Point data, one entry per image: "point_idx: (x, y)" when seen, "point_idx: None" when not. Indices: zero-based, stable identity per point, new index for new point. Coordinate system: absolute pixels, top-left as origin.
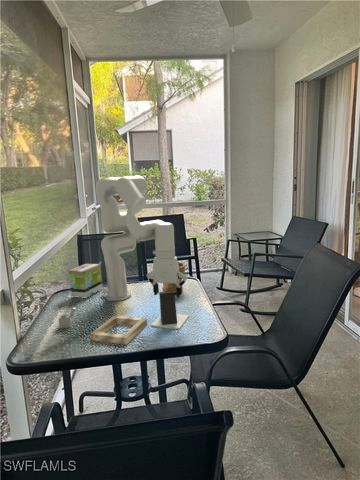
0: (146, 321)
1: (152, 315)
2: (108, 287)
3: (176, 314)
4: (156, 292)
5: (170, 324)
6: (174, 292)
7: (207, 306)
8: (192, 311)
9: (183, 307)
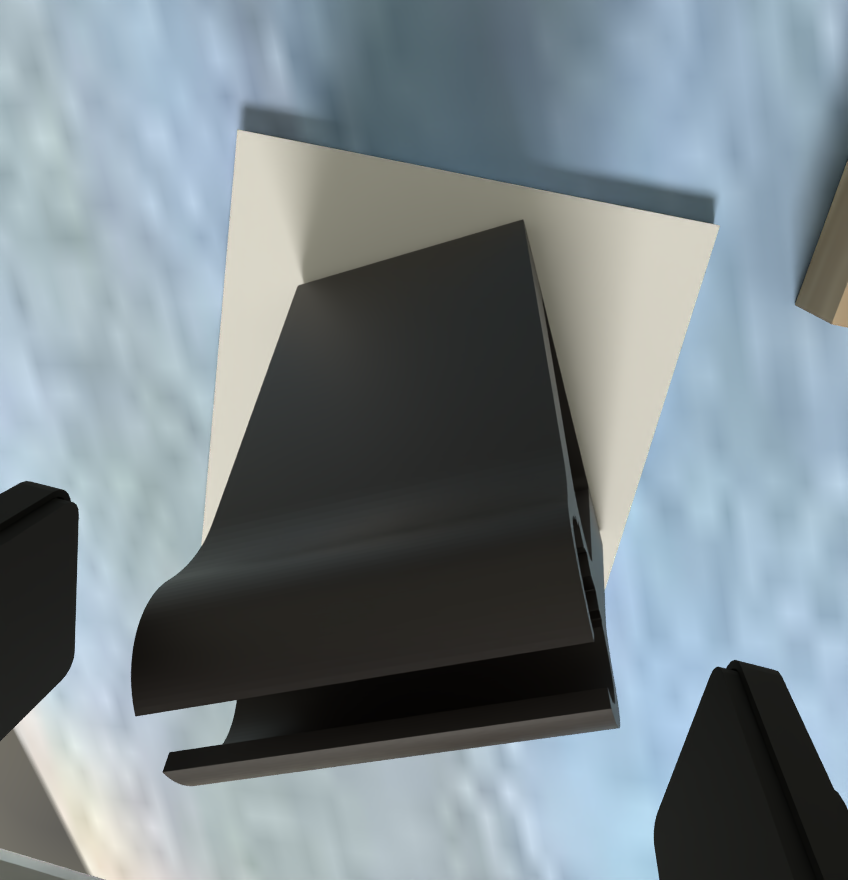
0: (818, 298)
1: (740, 605)
2: None
3: None
4: (717, 742)
5: (399, 248)
6: None
7: (65, 790)
8: None
9: (342, 797)
